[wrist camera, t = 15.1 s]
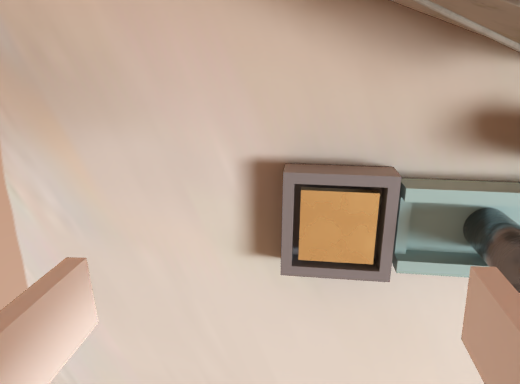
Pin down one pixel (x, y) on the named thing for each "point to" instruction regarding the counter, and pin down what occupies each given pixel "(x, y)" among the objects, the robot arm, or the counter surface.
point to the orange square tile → (338, 225)
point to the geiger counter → (476, 16)
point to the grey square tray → (340, 178)
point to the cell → (495, 241)
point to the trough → (445, 223)
